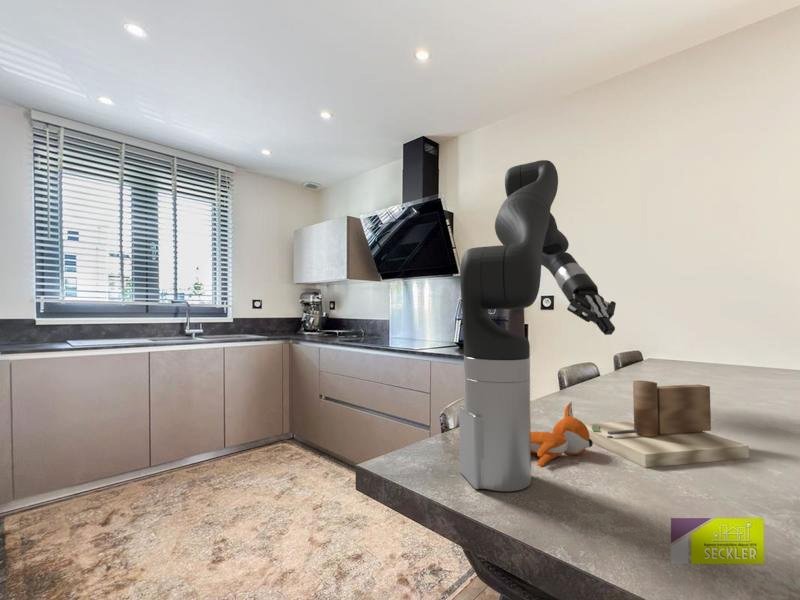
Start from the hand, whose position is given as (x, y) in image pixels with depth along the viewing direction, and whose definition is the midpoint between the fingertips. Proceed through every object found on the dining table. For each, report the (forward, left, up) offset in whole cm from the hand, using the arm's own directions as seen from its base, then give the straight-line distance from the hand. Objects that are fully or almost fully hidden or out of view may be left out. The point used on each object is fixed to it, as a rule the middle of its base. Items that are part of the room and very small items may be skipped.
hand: (610, 332), depth 89 cm
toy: (-30, -14, -20) cm, 39 cm away
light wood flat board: (-7, -19, -19) cm, 28 cm away
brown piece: (-6, -19, -17) cm, 26 cm away
